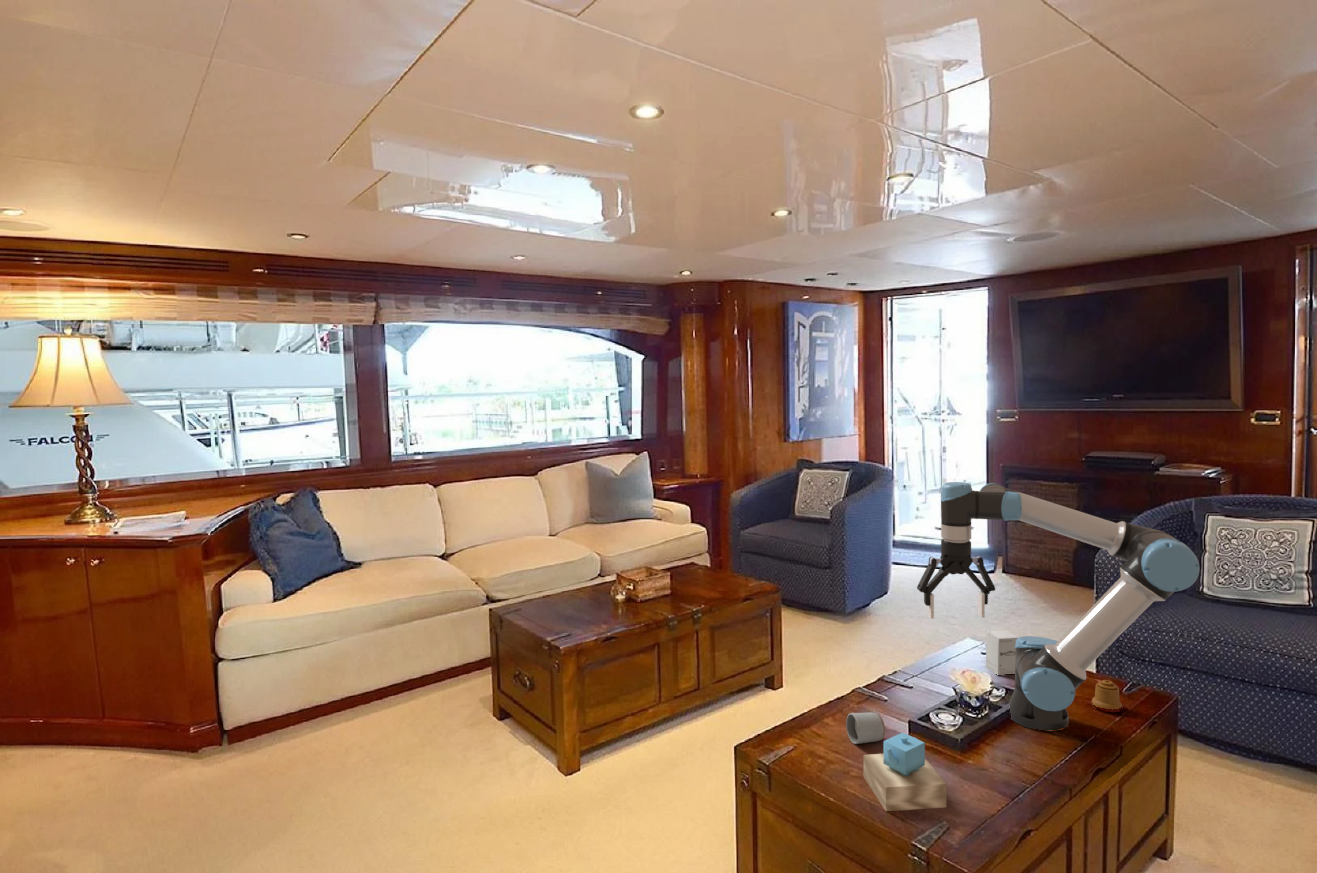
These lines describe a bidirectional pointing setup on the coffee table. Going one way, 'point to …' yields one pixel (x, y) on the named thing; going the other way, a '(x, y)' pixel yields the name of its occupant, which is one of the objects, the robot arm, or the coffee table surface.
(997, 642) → the supplement box
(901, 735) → the blue notched cube block
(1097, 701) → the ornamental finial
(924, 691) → the coffee table surface
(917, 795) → the maple block
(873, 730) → the ceramic mug
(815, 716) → the coffee table surface
